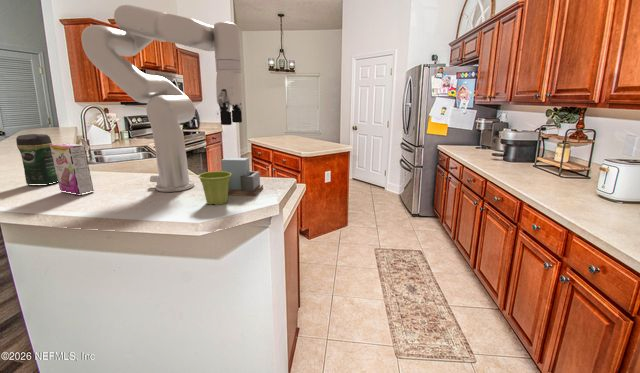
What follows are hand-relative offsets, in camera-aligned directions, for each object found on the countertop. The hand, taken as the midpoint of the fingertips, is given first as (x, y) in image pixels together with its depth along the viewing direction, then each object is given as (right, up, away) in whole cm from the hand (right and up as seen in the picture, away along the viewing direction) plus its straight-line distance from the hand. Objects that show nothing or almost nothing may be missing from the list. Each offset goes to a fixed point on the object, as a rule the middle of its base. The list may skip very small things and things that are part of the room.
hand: (232, 123), depth 105 cm
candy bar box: (-54, -23, +5) cm, 59 cm away
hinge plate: (0, -22, +6) cm, 23 cm away
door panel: (0, -21, +6) cm, 22 cm away
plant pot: (-3, -25, -5) cm, 26 cm away
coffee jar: (-75, -20, +17) cm, 79 cm away
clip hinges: (0, -21, +6) cm, 22 cm away
